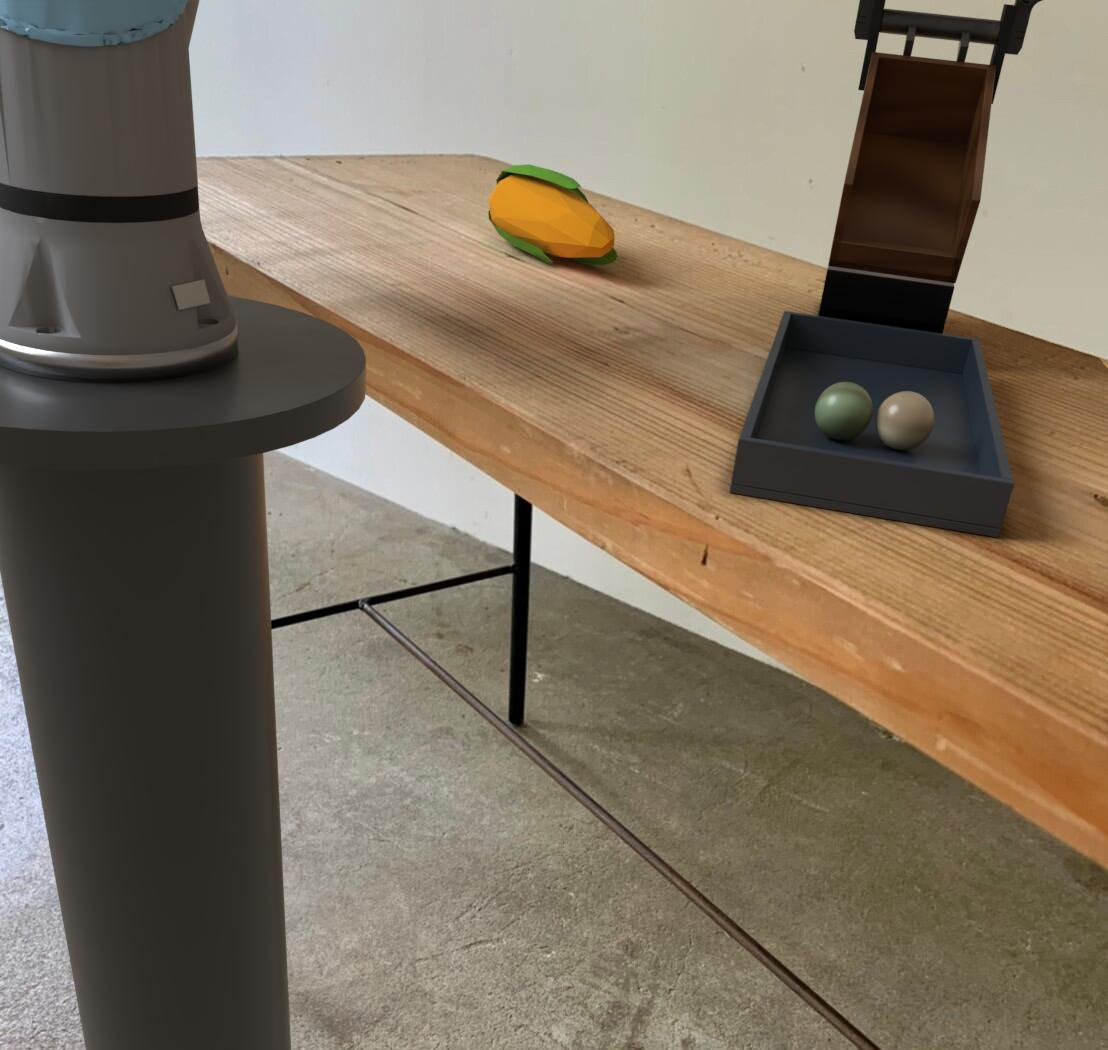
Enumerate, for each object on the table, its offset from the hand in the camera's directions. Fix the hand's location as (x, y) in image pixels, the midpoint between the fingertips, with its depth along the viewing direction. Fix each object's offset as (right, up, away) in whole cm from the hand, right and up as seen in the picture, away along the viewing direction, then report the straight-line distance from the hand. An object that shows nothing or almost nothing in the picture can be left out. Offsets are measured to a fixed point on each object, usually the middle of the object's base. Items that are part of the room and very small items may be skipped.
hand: (924, 95), depth 95 cm
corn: (-29, -6, +17) cm, 35 cm away
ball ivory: (-8, -32, -23) cm, 40 cm away
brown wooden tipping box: (-2, -8, -2) cm, 9 cm away
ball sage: (-12, -31, -23) cm, 40 cm away
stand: (-3, -18, +3) cm, 18 cm away
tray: (-9, -31, -18) cm, 37 cm away
